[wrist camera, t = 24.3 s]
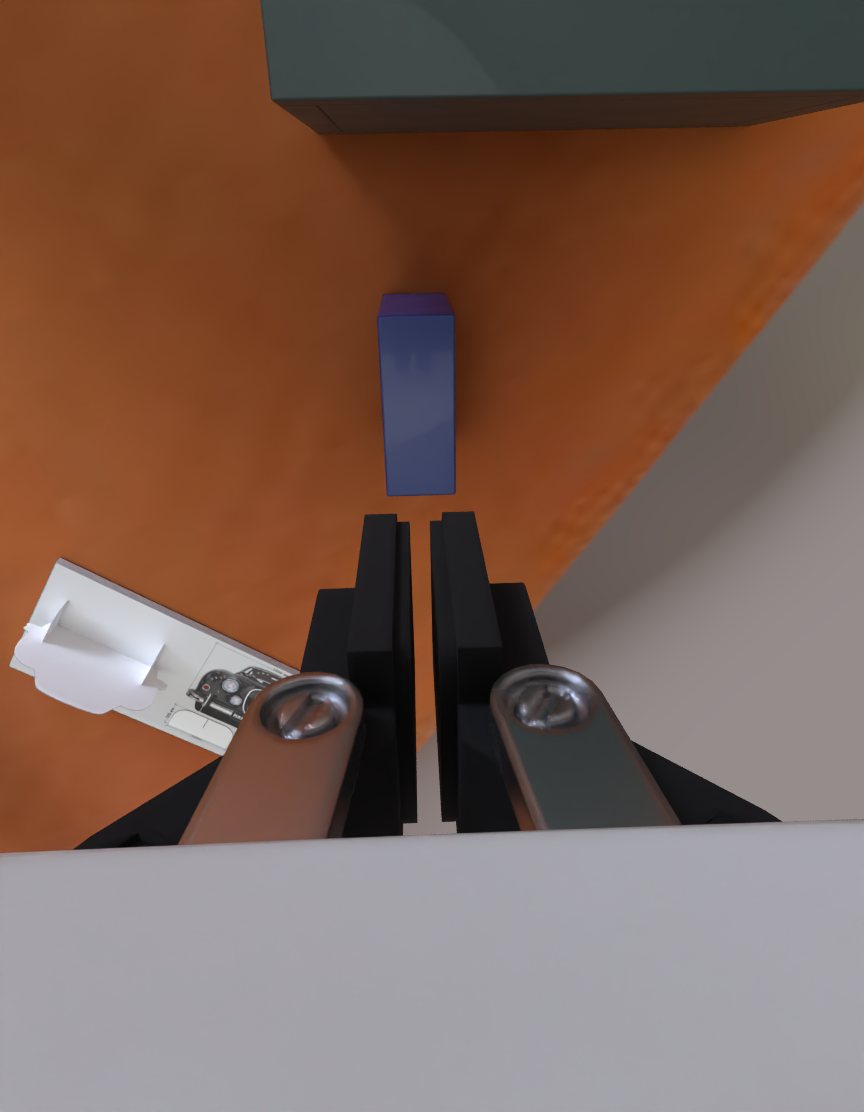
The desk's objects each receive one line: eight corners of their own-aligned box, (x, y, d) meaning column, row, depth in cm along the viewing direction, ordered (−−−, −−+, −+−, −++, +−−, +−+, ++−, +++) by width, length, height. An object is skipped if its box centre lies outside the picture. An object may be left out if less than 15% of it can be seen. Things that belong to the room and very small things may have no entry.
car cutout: (13, 660, 33) (-42, 724, 29) (60, 557, 30) (7, 612, 26) (291, 778, 37) (277, 848, 33) (352, 696, 34) (345, 761, 30)
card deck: (382, 294, 26) (376, 316, 21) (446, 292, 26) (455, 313, 21) (390, 446, 28) (386, 497, 24) (447, 445, 28) (455, 495, 24)
